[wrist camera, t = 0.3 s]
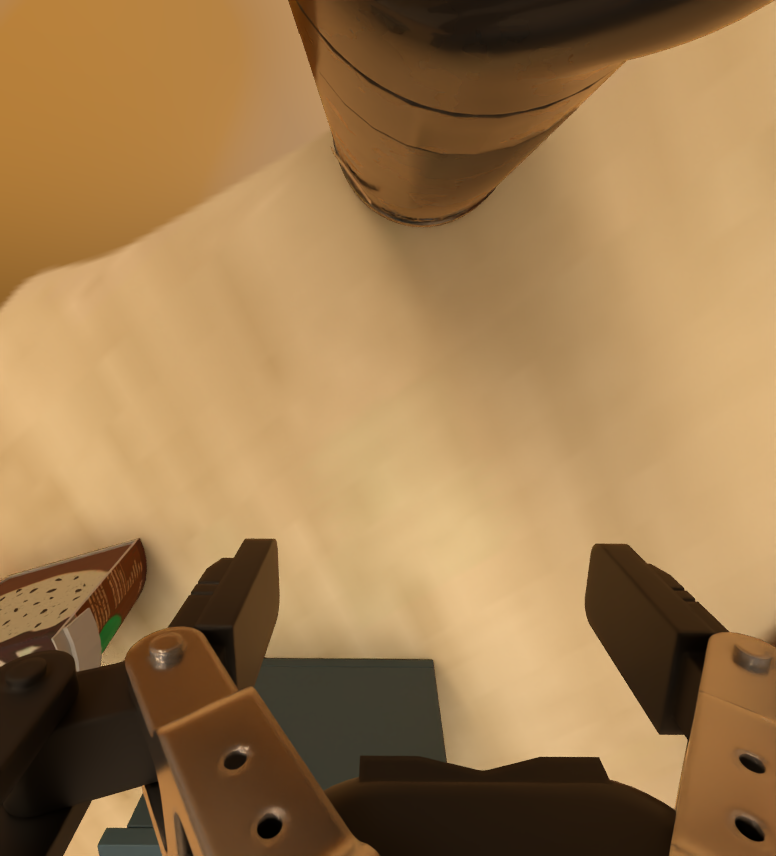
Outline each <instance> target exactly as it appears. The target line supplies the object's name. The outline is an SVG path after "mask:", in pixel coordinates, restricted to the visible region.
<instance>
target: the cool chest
mask: <svg viewBox="0 0 776 856" xmlns="http://www.w3.org/2000/svg"><path fill="white" fill-rule="evenodd" d="M254 689H255V690H256V691H257V692H258V694H259V695H260V697H261V698H262V700H263V701H264V703H265V704H266V706H267V707H268V709H269V710H270V712H271V713H272V715H273V716H274V718H275V719H276V721H277V722H278V724H279V725H280V727H281V728H282V730H283V731H284V733H285V734H286V736H287V737H288V739H289V740H290V742H291V743H292V745H293V746H294V748H295V749H296V751H297V752H298V754H299V755H300V757H301V758H302V760H303V761H304V763H305V764H306V766H307V767H308V769H309V770H310V772H311V773H312V775H313V776H314V778H315V779H316V781H317V782H318V784H319V785H320V787H321V788H322V790H323V791H324V790H326V789H328V788H330V787H331V786H333V785H336V784H338V783H341V782H344V781H346V780H349V779H353V778H357V777H359V765H360V756H421V757H425V758H429V759H434V760H438V761H442V762H446V763H447V760H446V753H445V745H444V738H443V730H442V723H441V715H440V708H439V700H438V693H437V685H436V678H435V670H434V663H433V660H399V659H279V658H264V659H263V662H262V665H261V668H260V671H259V674H258V677H257V680H256V683H255V686H254ZM127 828H154V827H153V824H152V820H151V817H150V814H149V810H148V807H147V804H146V801H145V797H144V794H142V796H141V798H140V800H139V802H138V804H137V806H136V808H135V811H134V813H133V815H132V817H131V819H130V821H129V823H128V825H127Z"/></svg>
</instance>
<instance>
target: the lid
mask: <svg viewBox="0 0 776 856" xmlns="http://www.w3.org/2000/svg"><path fill="white" fill-rule="evenodd" d="M98 851H99V856H162V853H161V850H160V847H159V843H158V840H157V837H156V833H155V830H154V828H106V830H105V832H104V834H103V836H102V838H101V839H100V841H99V843H98Z"/></svg>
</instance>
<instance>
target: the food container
mask: <svg viewBox="0 0 776 856" xmlns="http://www.w3.org/2000/svg"><path fill="white" fill-rule="evenodd" d="M146 572H147V565H146V557H145V552H144V548H143V546H142V543H141V541H140V538H138V539H135V540H131V541H128V542H124V543H121V544H117V545H114V546H110V547H107V548H103V549H100V550H96V551H93V552H89V553H86V554H82V555H79V556H75V557H72V558H68V559H65V560H62V561H58V562H55V563H51V564H48V565H44V566H41V567H37V568H34V569H30V570H27V571H23V572H20V573H16V574H13V575H9V576H7V577H6V578H4V579H3V580H1V581H0V667H1V666H3V665H4V664H6V663H8V662H10V661H12V660H14V659H17V658H19V657H21V656H24V655H27V654H31V653H35V652H39V651H46V650H59V651H64V652H67V653H69V654H70V655H72V657H73V658H74V661H75V665H76V671H77V672H78V671H83V670H88V669H92V668H97V667H100V666H101V658H102V653H103V651H104V650H105V648H106V647H107V645H108V644H109V642H110V641H111V639H112V638H113V636H114V634H115V633H116V631H117V630H118V628H119V627H120V625H121V624H122V622H123V620H124V619H125V617H126V616H127V614H128V613H129V611H130V610H131V608H132V606H133V605H134V603H135V602H136V600H137V599H138V597H139V595H140V593H141V592H142V590H143V587H144V583H145V580H146Z"/></svg>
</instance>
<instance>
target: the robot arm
mask: <svg viewBox="0 0 776 856" xmlns="http://www.w3.org/2000/svg"><path fill="white" fill-rule="evenodd" d="M288 1H289V4H290V7H291V10H292V13H293V16H294V19H295V22H296V25H297V28H298V31H299V34H300V36H301V39H302V42H303V45H304V48H305V51H306V54H307V57H308V61H309V63H310V67H311V70H312V73H313V76H314V79H315V82H316V85H317V88H318V92H319V95H320V98H321V101H322V104H323V107H324V110H325V113H326V117H327V119H328V123H329V126H330V129H331V132H332V136H333V142H334V147H335V151H336V153H335V151H334V150H333V149H332V147H331V149H332V152H333V154H334V155H335V156H336V158H337V159H338V161H339V164H340V166H341V169H342V171H343V173H344V176H345V177H346V179H347V181H348V183H349V185H350V186H351V188H352V189H353V190H354V192H355V193H356V194H357V196H358V197H359V198H360V199H361V200H362V201H363V202H364V203H365V204H366V205H367V206H368V207H370V208H371V209H372V210H373V211H375V212H376V213H378V214H379V215H381V216H383V217H385V218H386V219H388V220H391V221H393V222H396V223H399V224H403V225H407V226H413V227H431V226H438V225H442V224H446V223H449V222H452V221H455V220H457V219H459V218H461V217H463V216H464V215H466V214H468V213H469V212H471V211H472V210H473V209H475V208H476V207H477V206H478V205H480V204H481V203H482V202H483V201H484V200H485V199H486V198H487V197H488V196H489V195H490V194H491V193H492V192H493V190H494V189H495V188H496V186H497V185H498V184H499V183H500V182H501V181H502V180H504V179H505V178H506V177H507V176H508V175H509V174H510V173H511V172H512V171H513V170H514V169H515V168H516V167H517V166H518V165H519V164H520V163H521V162H522V161H523V160H524V159H525V158H526V157H527V156H529V155H530V154H531V153H532V152H533V151H534V150H535V149H536V148H537V147H538V146H539V145H540V144H541V143H542V142H543V141H544V140H545V139H546V138H547V137H548V136H549V135H550V134H551V133H552V132H554V131H555V130H556V129H557V128H558V127H559V126H560V125H561V124H562V123H563V122H564V121H565V120H566V119H567V118H568V117H569V116H570V115H571V114H572V113H573V112H574V111H575V110H576V109H577V108H578V107H579V106H580V105H581V104H582V103H583V102H584V101H585V100H586V99H587V98H588V97H589V96H590V95H591V94H592V93H594V92H595V91H596V90H597V89H598V88H599V87H600V86H601V85H602V84H603V83H604V82H605V81H606V80H607V79H608V78H609V77H610V76H611V75H612V74H613V73H614V72H615V71H616V70H617V69H618V68H619V67H621V66H622V65H623V64H624V63H625V62H626V61H627V60H631V59H635V58H639V57H643V56H646V55H650V54H653V53H657V52H660V51H663V50H667V49H670V48H673V47H676V46H679V45H682V44H685V43H688V42H690V41H693V40H695V39H698V38H701V37H703V36H706V35H708V34H711V33H713V32H715V31H717V30H720V29H722V28H724V27H726V26H728V25H730V24H732V23H734V22H736V21H739V20H741V19H742V18H744V17H746V16H748V15H749V14H751V13H753V12H755V11H757V10H758V9H760V8H762V7H764V6H765V5H767V4H769V3H771V2H772V1H774V0H288ZM279 596H280V595H279V570H278V548H277V542H276V539H245V540H244V541H243V543H242V545H241V547H240V548H239V550H238V552H237V553H236V555H235V557H234V558H222V559H220V560H219V561H217V562H216V563H214V564H213V565H212V566H210V567H209V568H207V569H206V571H205V572H204V574H203V575H202V577H201V578H200V580H199V581H198V584H196V586H195V587H194V589H193V590H192V592H191V595H189V596H188V598H187V599H186V601H185V602H184V604H183V605H182V607H181V609H180V610H179V612H178V613H177V615H176V616H175V618H174V619H173V621H172V622H171V624H170V625H169V627H168V628H166V629H162V630H159V631H156V632H153V633H151V634H149V635H147V636H145V637H144V638H142V639H140V640H139V641H138V642H137V643H135V644H134V645H133V646H132V647H131V648H130V650H129V651H128V653H127V655H126V657H125V661H123V662H120V663H116V664H112V665H107V666H102V667H97V668H92V669H88V670H83V671H78V672H77V671H76V665H75V661H74V658H73V657H72V655H70V654H69V653H67V652H64V651H59V650H46V651H39V652H35V653H31V654H27V655H24V656H21V657H19V658H17V659H14V660H12V661H10V662H8V663H6V664H4V665H3V666H1V667H0V856H63V855H64V853H65V851H66V849H67V847H68V845H69V843H70V841H71V840H72V838H73V836H74V834H75V832H76V830H77V828H78V826H79V824H80V822H81V820H82V818H83V817H84V815H85V813H86V811H87V809H88V807H89V805H90V803H91V801H92V800H95V799H98V798H101V797H105V796H108V795H112V794H115V793H119V792H122V791H126V790H129V789H133V788H136V787H140V786H142V791H143V794H144V797H145V801H146V804H147V807H148V810H149V814H150V817H151V820H152V824H153V827H154V830H155V833H156V837H157V840H158V843H159V847H160V850H161V853H162V856H776V647H774V646H772V645H770V644H768V643H766V642H764V641H762V640H760V639H757V638H754V637H751V636H748V635H744V634H739V633H732V632H729V631H728V630H727V629H726V628H725V627H724V626H723V625H722V624H721V623H720V622H719V621H717V620H716V619H715V618H714V617H713V616H712V615H711V614H710V613H709V612H708V611H707V610H706V609H705V608H704V607H703V606H702V605H701V604H700V603H699V602H695V598H694V597H693V596H692V595H690V594H689V593H688V592H687V591H684V588H683V587H682V586H681V585H680V584H679V583H678V582H677V581H676V580H675V579H674V578H673V577H672V576H671V575H669V574H667V573H666V572H664V571H662V570H660V569H659V568H657V567H655V566H653V565H652V564H647V563H646V562H645V561H644V560H643V559H642V558H641V557H640V556H639V555H638V554H637V553H636V552H635V551H634V550H633V549H632V548H631V547H630V546H629V545H627V544H595V545H594V546H593V548H592V551H591V556H590V563H589V571H588V579H587V586H586V594H585V611H586V616H587V619H588V622H589V624H590V626H591V627H592V629H593V631H594V632H595V634H596V635H597V637H598V638H599V640H600V642H601V643H602V645H603V646H604V648H605V650H606V651H607V653H608V654H609V656H610V657H611V659H612V661H613V662H614V664H615V665H616V667H617V669H618V670H619V672H620V673H621V675H622V676H623V678H624V680H625V681H626V683H627V684H628V686H629V688H630V689H631V691H632V692H633V694H634V695H635V697H636V699H637V700H638V702H639V703H640V705H641V706H642V708H643V710H644V711H645V713H646V714H647V716H648V718H649V719H650V721H651V722H652V724H653V725H654V727H655V729H656V730H657V732H658V733H659V735H685V736H686V738H687V739H688V742H687V747H686V752H685V757H684V762H683V767H682V772H681V778H680V783H679V788H678V793H677V798H676V804H675V809H673V808H671V807H669V806H668V805H666V804H665V803H663V802H662V801H660V800H658V799H656V798H654V797H652V796H651V795H649V794H647V793H645V792H642V791H640V790H638V789H636V788H633V787H631V786H628V785H625V784H622V783H619V782H616V781H613V780H609V778H608V776H607V773H606V771H605V769H604V767H603V765H602V763H601V761H600V758H599V757H538V758H534V759H530V760H526V761H522V762H518V763H514V764H510V765H506V766H502V767H498V768H495V769H491V770H485V771H481V770H475V769H471V768H467V767H463V766H458V765H454V764H450V763H446V762H442V761H438V760H434V759H429V758H425V757H421V756H360V765H359V777H357V778H353V779H349V780H346V781H344V782H341V783H338V784H336V785H333V786H331V787H330V788H328V789H326V790H324V791H323V790H322V788H321V787H320V785H319V784H318V782H317V781H316V779H315V778H314V776H313V775H312V773H311V772H310V770H309V769H308V767H307V766H306V764H305V763H304V761H303V760H302V758H301V757H300V755H299V754H298V752H297V751H296V749H295V748H294V746H293V745H292V743H291V742H290V740H289V739H288V737H287V736H286V734H285V733H284V731H283V730H282V728H281V727H280V725H279V724H278V722H277V721H276V719H275V718H274V716H273V715H272V713H271V712H270V710H269V709H268V707H267V706H266V704H265V703H264V701H263V700H262V698H261V697H260V695H259V694H258V692H257V691H256V690H255V689H254V686H255V683H256V680H257V677H258V674H259V671H260V668H261V665H262V662H263V659H264V656H265V653H266V650H267V647H268V644H269V641H270V638H271V635H272V632H273V629H274V627H275V624H276V620H277V616H278V610H279Z"/></svg>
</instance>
